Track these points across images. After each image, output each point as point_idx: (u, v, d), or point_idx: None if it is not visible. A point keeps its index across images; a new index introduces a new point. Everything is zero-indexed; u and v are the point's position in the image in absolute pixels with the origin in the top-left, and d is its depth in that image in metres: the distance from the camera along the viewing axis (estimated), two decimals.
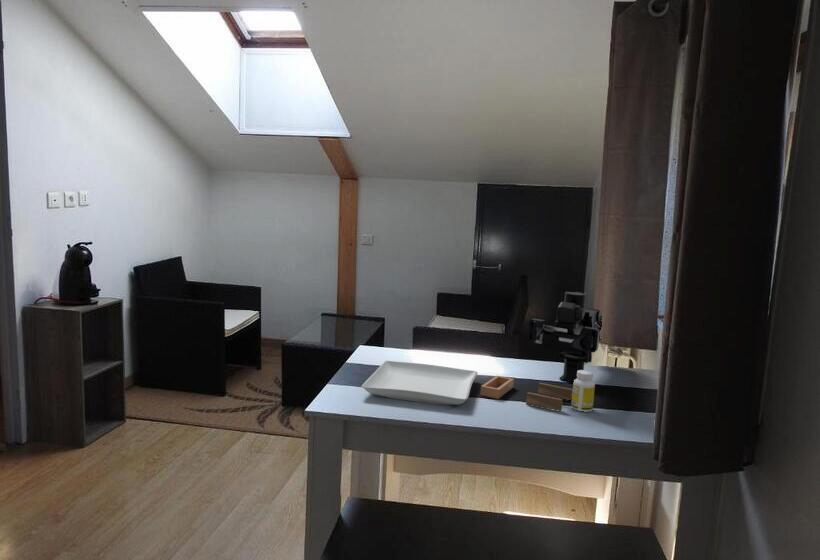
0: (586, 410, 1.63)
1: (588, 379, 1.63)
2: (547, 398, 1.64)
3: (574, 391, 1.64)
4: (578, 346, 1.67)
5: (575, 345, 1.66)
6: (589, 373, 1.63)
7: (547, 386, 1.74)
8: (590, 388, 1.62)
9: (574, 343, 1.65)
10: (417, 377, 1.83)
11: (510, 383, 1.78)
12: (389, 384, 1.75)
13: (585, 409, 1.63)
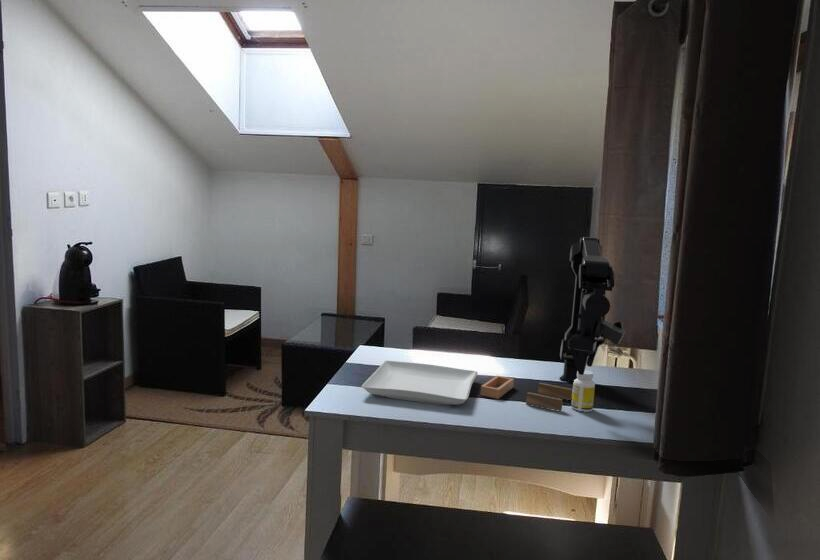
0: (586, 410, 1.63)
1: (588, 379, 1.63)
2: (547, 398, 1.64)
3: (574, 391, 1.64)
4: None
5: None
6: (589, 373, 1.63)
7: (547, 386, 1.74)
8: (590, 388, 1.62)
9: None
10: (417, 377, 1.83)
11: (510, 383, 1.78)
12: (389, 384, 1.75)
13: (585, 409, 1.63)
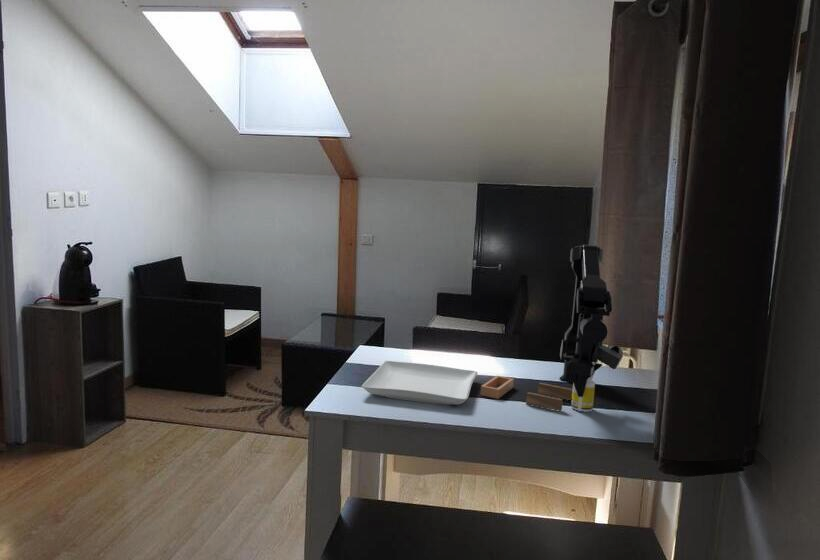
0: (586, 410, 1.63)
1: (588, 379, 1.63)
2: (547, 398, 1.64)
3: (574, 391, 1.64)
4: None
5: None
6: None
7: (547, 386, 1.74)
8: (590, 387, 1.62)
9: None
10: (417, 377, 1.83)
11: (510, 383, 1.78)
12: (389, 384, 1.75)
13: (585, 409, 1.63)
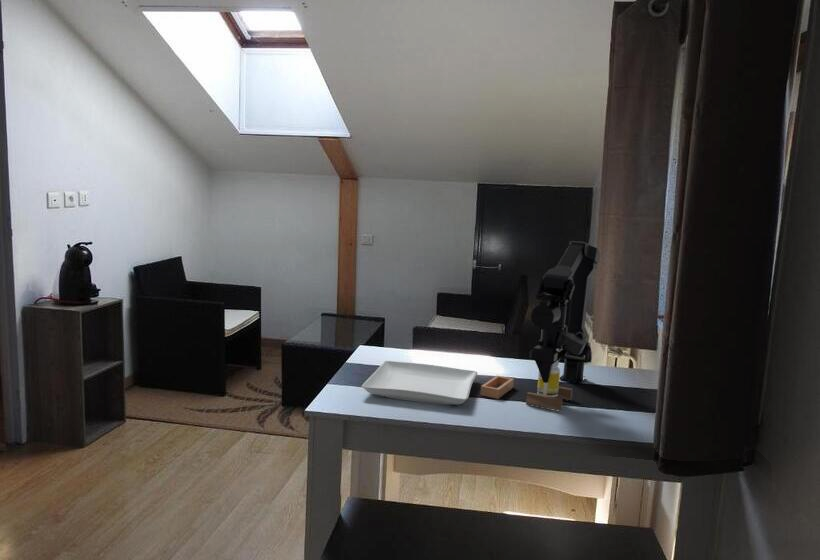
0: (551, 395, 1.67)
1: (553, 365, 1.67)
2: (547, 398, 1.64)
3: (539, 377, 1.68)
4: None
5: None
6: None
7: None
8: (554, 373, 1.66)
9: None
10: (417, 377, 1.83)
11: (510, 383, 1.78)
12: (389, 384, 1.75)
13: (550, 394, 1.67)
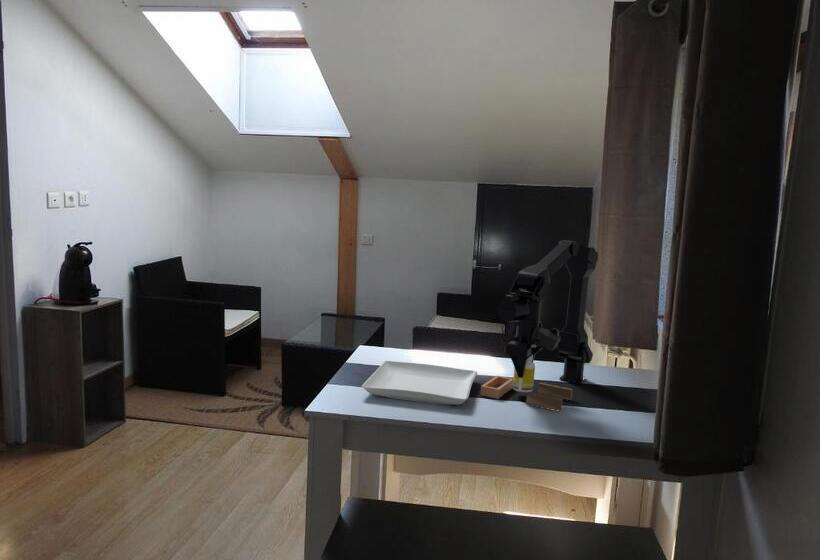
0: (526, 390, 1.70)
1: (528, 361, 1.70)
2: (547, 398, 1.64)
3: (515, 372, 1.71)
4: None
5: None
6: None
7: (547, 386, 1.74)
8: (529, 369, 1.69)
9: None
10: (417, 377, 1.83)
11: (510, 383, 1.78)
12: (389, 384, 1.75)
13: (525, 389, 1.70)
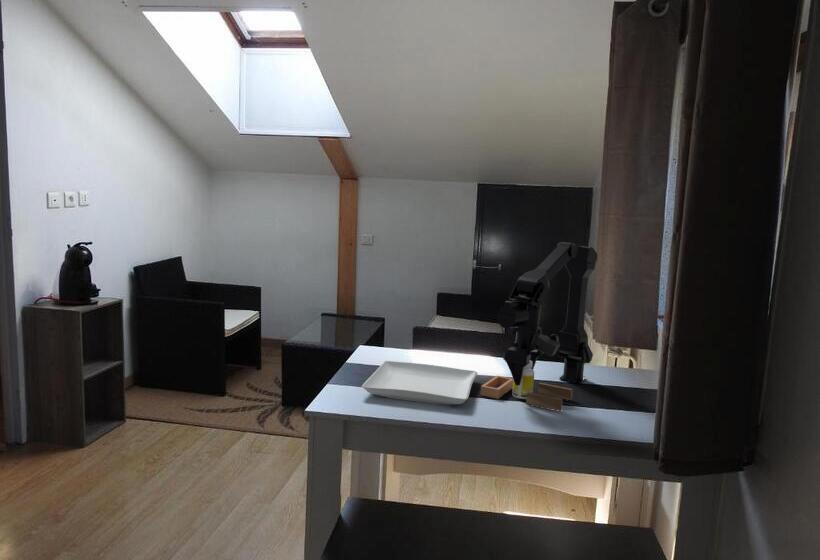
0: (525, 397, 1.70)
1: (527, 368, 1.70)
2: (547, 398, 1.64)
3: None
4: None
5: None
6: None
7: (547, 386, 1.74)
8: (529, 376, 1.70)
9: None
10: (417, 377, 1.83)
11: (510, 383, 1.78)
12: (389, 384, 1.75)
13: (524, 396, 1.70)
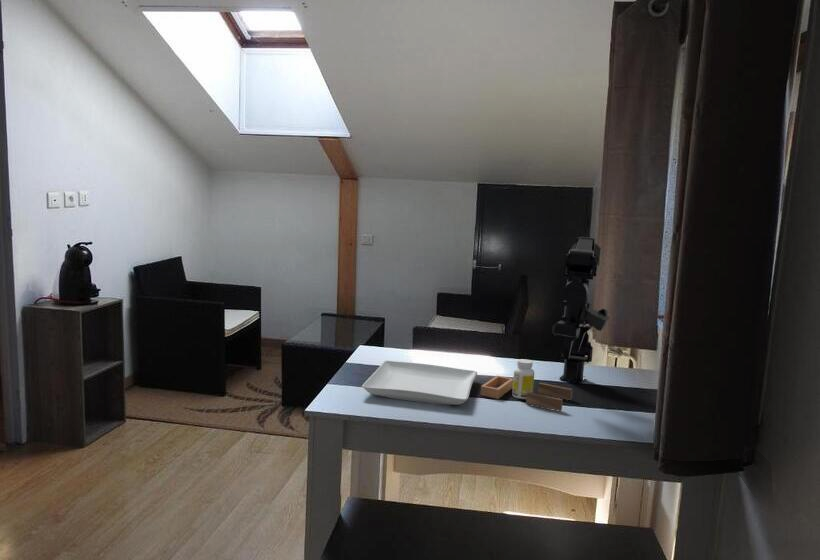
0: (525, 397, 1.70)
1: (527, 368, 1.70)
2: (547, 398, 1.64)
3: (514, 379, 1.72)
4: None
5: None
6: (528, 362, 1.71)
7: (547, 386, 1.74)
8: (529, 376, 1.70)
9: None
10: (417, 377, 1.83)
11: (510, 383, 1.78)
12: (389, 384, 1.75)
13: (524, 396, 1.70)
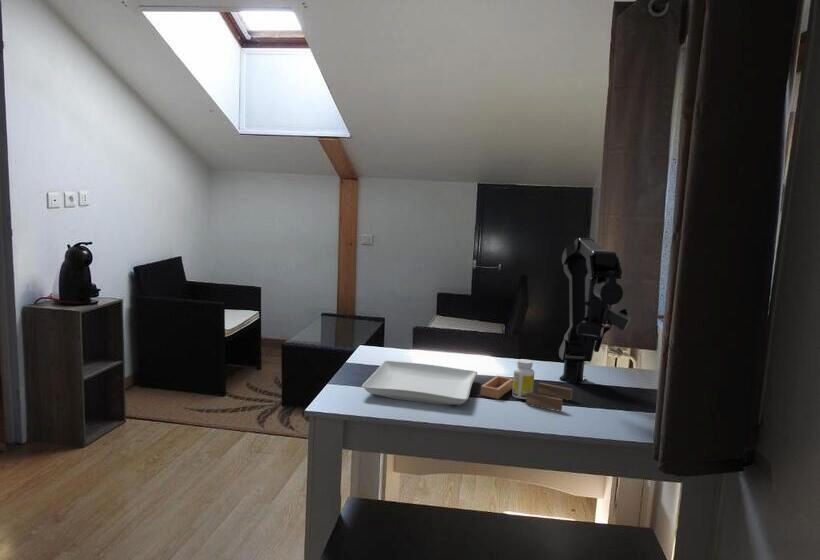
0: (525, 397, 1.70)
1: (527, 368, 1.70)
2: (547, 398, 1.64)
3: (514, 379, 1.72)
4: None
5: None
6: (528, 362, 1.71)
7: (547, 386, 1.74)
8: (529, 376, 1.70)
9: None
10: (417, 377, 1.83)
11: (510, 383, 1.78)
12: (389, 384, 1.75)
13: (524, 396, 1.70)
